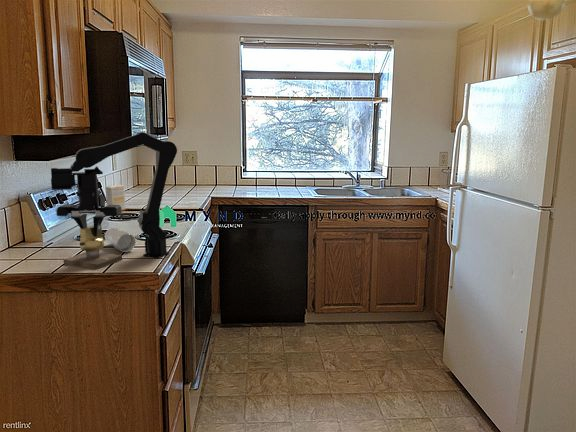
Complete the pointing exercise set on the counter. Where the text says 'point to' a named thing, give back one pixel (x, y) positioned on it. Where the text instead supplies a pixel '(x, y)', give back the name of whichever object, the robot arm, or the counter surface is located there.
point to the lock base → (93, 259)
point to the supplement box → (116, 196)
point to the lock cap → (91, 239)
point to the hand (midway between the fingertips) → (91, 236)
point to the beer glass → (120, 239)
